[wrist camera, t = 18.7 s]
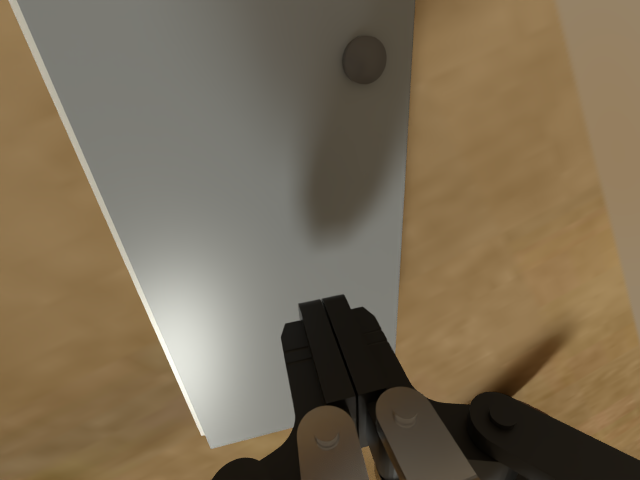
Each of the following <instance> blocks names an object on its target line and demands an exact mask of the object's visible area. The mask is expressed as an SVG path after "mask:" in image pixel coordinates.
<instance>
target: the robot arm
mask: <svg viewBox="0 0 640 480" xmlns="http://www.w3.org/2000/svg"><path fill="white" fill-rule="evenodd" d="M298 311H299V318H300V320H299V321H294V322H290V323H285V325H284V328H283V331H282V335H281V342H282V348H283V353H284V359H285V365H286V370H287V376H288V381H289V386H290V392H291V397H292V402H293V408H294V413H295V422H294V427H293V429H292V432H291V434H290V436H289V437H288V439H287V440H286V441H285V442H284V443H283V444H282V445H281V446H280V447H279V448H278V449H276V450H275V451H274V452H272V453H271V454H269V455H268V456H266V457H265V458H263V459H262V460H260V461H258V460H256V459H253V458H239V459H236V460H233V461H231V462H229V463H228V464H226V465H225V466H223V467H222V468H221V469H220V470H219V471H218V472H217V473H216V474H215V476H214V477H213V479H212V480H369V478H368V474H367V470H366V466H365V462H364V458H363V454H362V450H361V448H362V447H366V446H369V448H370V451H371V454H372V456H373V459H374V472H375V476H376V479H377V480H640V460H638V459H636V458H634V457H632V456H630V455H627V454H625V453H623V452H621V451H619V450H617V449H615V448H613V447H611V446H609V445H607V444H605V443H603V442H601V441H599V440H597V439H595V438H593V437H591V436H589V435H587V434H585V433H583V432H581V431H579V430H577V429H575V428H573V427H571V426H569V425H567V424H564V423H562V422H560V421H558V420H556V419H554V418H552V417H550V416H548V415H546V414H544V413H542V412H540V411H538V410H536V409H534V408H532V407H530V406H528V405H526V404H524V403H522V402H520V401H518V400H516V399H514V398H512V397H510V396H507V395H505V394H501V393H497V392H485V393H481V394H479V395H477V396H476V397H475V398H474V399H473V400H472V402H471V405H466V404H451V403H440V402H436V401H433V400H431V399H428V398H426V397H425V396H424V395H423V394H421V393H420V392H418V391H417V390H415V388H414V387H413V386H412V385H411V383H410V381H409V380H408V378H407V376H406V374H405V372H404V370H403V368H402V366H401V365H400V363H399V361H398V359H397V357H396V355H395V353H394V351H393V349H392V348H391V346H390V344H389V342H388V341H387V338H386V336H385V334H384V332H383V331H382V329H381V327H380V325H379V323H378V321H377V319H376V317H375V316H374V315H373V314H372V313H370V312H369V311H368V310H367V309H365V308H364V307H358V308H353V309H351V308H350V306H349V303H348V301H347V299H346V297H345V295H344V294H341V295H336V296H331V297H327V298H322V299H321V300H320V299H318V300H313V301H308V302H303V303H298Z"/></svg>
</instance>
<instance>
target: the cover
mask: <svg viewBox="0 0 640 480" xmlns="http://www.w3.org/2000/svg"><path fill="white" fill-rule="evenodd" d="M17 2H18V5H19V7H20V9H21V12H22V14H23V16H24V18H25V21H26V23H27V25H28V28H29V30H30V32H31V35H32V37H33V39H34V42H35V44H36V46H37V48H38V51H39V53H40V55H41V58H42V60H43V62H44V65H45V67H46V69H47V72H48V74H49V76H50V78H51V81H52V83H53V85H54V88H55V90H56V92H57V95H58V97H59V99H60V102H61V104H62V106H63V108H64V111H65V113H66V115H67V118H68V120H69V122H70V125H71V127H72V129H73V132H74V134H75V136H76V138H77V141H78V143H79V145H80V148H81V150H82V152H83V155H84V157H85V159H86V162H87V164H88V166H89V168H90V171H91V173H92V175H93V178H94V180H95V182H96V185H97V187H98V189H99V192H100V194H101V196H102V198H103V201H104V203H105V205H106V208H107V210H108V212H109V215H110V217H111V219H112V222H113V224H114V226H115V228H116V231H117V233H118V235H119V238H120V240H121V242H122V245H123V247H124V249H125V252H126V254H127V256H128V258H129V261H130V263H131V265H132V268H133V270H134V272H135V275H136V277H137V279H138V282H139V284H140V286H141V288H142V291H143V293H144V295H145V298H146V300H147V302H148V305H149V307H150V309H151V312H152V314H153V316H154V318H155V321H156V323H157V325H158V328H159V330H160V332H161V335H162V337H163V339H164V342H165V344H166V346H167V348H168V351H169V353H170V355H171V358H172V360H173V362H174V365H175V367H176V369H177V372H178V374H179V376H180V378H181V381H182V383H183V385H184V388H185V390H186V392H187V395H188V397H189V399H190V402H191V404H192V406H193V408H194V411H195V413H196V415H197V418H198V420H199V422H200V425H201V427H202V429H203V432H204V434H205V436H206V438H207V441H208V443H209V445H210V448H211V449H212V448H216V447H220V446H224V445H228V444H231V443H235V442H239V441H243V440H247V439H251V438H254V437H258V436H262V435H266V434H270V433H273V432H277V431H281V430H285V429H289V428H293V427H294V422H295V413H294V408H293V402H292V397H291V392H290V386H289V381H288V376H287V370H286V365H285V359H284V353H283V348H282V342H281V335H282V331H283V328H284V325H285V323H290V322H294V321H299V320H300V318H299V311H298V303H303V302H308V301H313V300H318V299H320V300H321V299H322V298H327V297H331V296H336V295H341V294H344V295H345V297H346V299H347V301H348V303H349V306H350V308H351V309H353V308H358V307H364V308H365V309H367V310H368V311H369V312H370V313H372V314H373V315H374V316H375V317H376V319H377V321H378V323H379V325H380V327H381V329H382V331H383V332H384V334H385V336H386V338H387V341H388V342H389V344H390V346H391V348H392V349H393V351H394V353H395V346H396V328H397V311H398V293H399V276H400V258H401V241H402V223H403V206H404V188H405V171H406V153H407V136H408V118H409V100H410V83H411V65H412V48H413V30H414V13H415V0H17Z"/></svg>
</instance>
